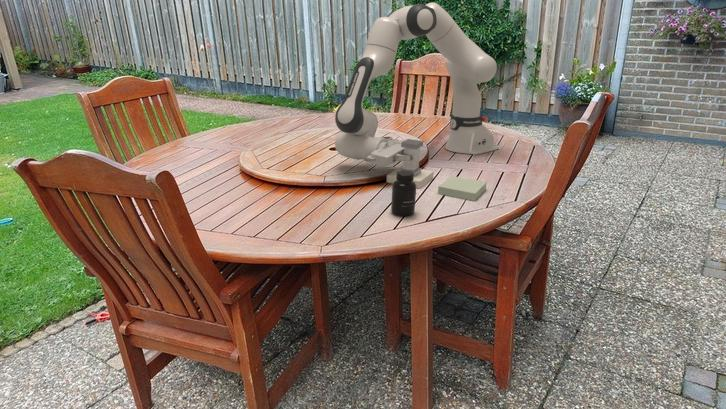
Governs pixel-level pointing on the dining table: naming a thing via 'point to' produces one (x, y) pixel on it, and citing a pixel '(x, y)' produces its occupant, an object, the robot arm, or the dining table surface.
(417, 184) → the stand
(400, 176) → the supplement bottle
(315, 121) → the dining table surface
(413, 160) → the post
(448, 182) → the stand
